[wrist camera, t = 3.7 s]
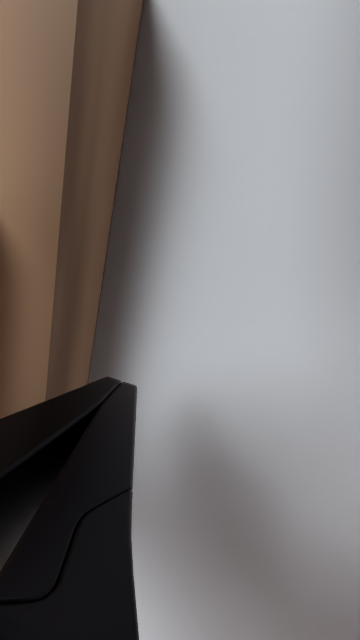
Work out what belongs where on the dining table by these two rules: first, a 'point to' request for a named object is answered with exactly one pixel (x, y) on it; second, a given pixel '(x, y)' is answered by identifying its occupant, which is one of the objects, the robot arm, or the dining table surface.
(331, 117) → the dining table surface
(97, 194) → the board
